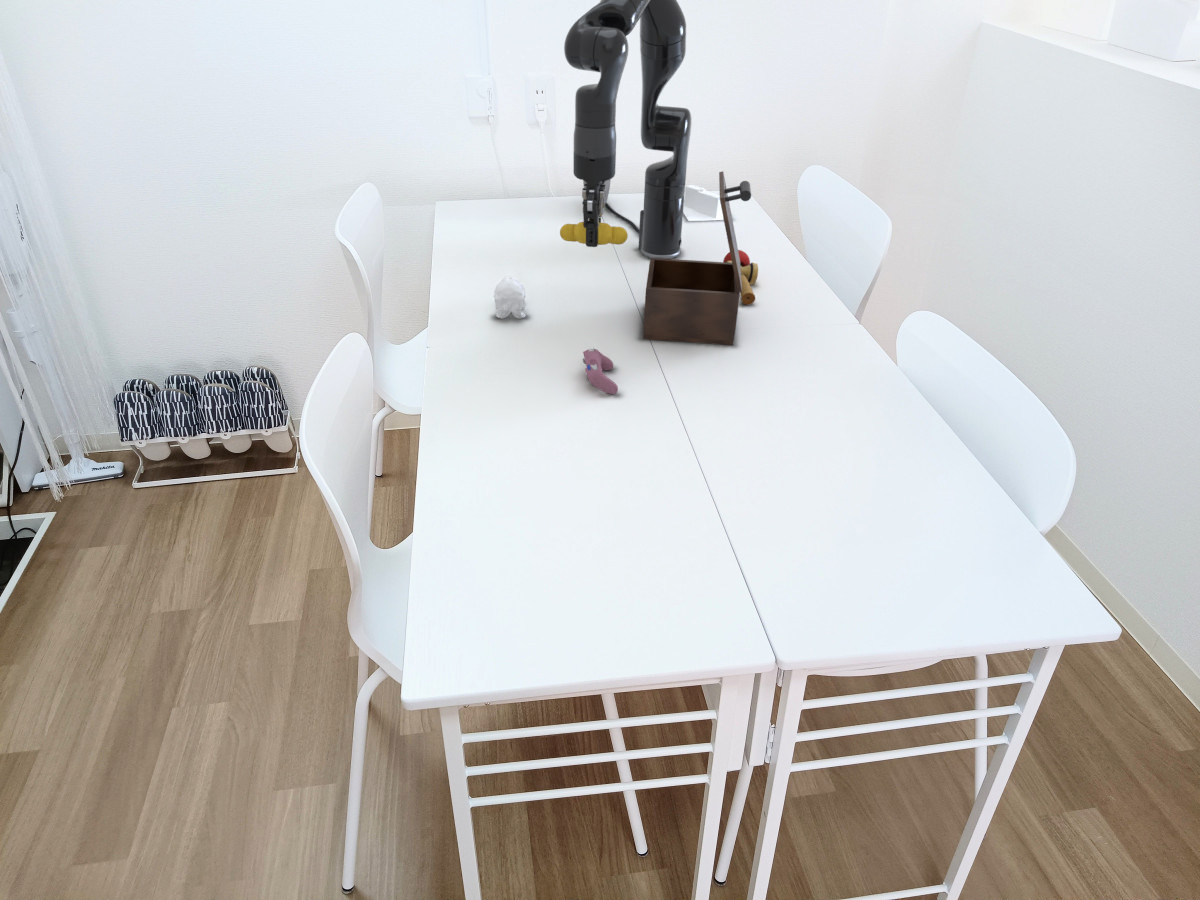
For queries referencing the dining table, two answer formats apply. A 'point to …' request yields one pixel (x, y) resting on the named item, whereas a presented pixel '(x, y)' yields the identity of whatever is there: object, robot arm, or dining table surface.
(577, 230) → the yellow lobed rod
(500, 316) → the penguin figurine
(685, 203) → the napkin holder
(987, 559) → the dining table surface
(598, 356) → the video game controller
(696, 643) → the dining table surface
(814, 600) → the dining table surface
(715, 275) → the toy chest
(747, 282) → the kendama
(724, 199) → the lid
